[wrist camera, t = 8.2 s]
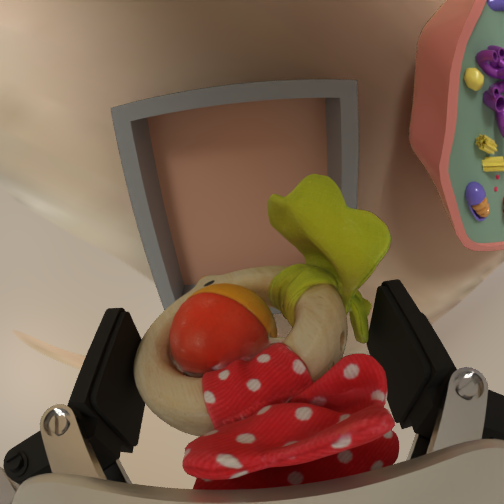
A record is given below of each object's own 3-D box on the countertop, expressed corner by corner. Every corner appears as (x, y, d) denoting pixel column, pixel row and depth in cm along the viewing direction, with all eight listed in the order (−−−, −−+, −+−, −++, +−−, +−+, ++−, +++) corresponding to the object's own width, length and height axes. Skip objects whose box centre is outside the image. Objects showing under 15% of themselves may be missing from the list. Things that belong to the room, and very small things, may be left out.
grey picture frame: (131, 102, 17) (110, 108, 14) (337, 79, 16) (356, 79, 14) (175, 293, 24) (168, 322, 21) (335, 276, 24) (348, 304, 21)
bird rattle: (245, 300, 17) (416, 283, 12) (152, 489, 9) (381, 556, 4) (185, 206, 14) (388, 150, 9) (24, 416, 6) (337, 597, 1)
